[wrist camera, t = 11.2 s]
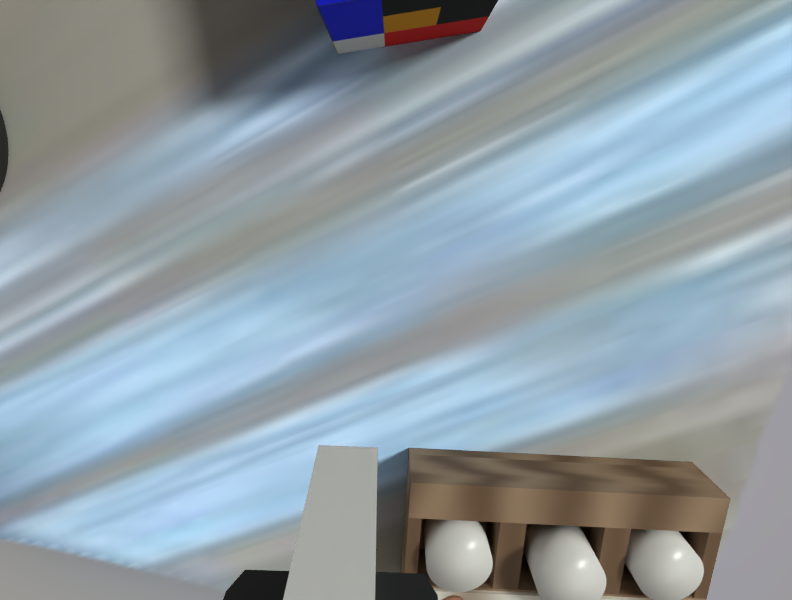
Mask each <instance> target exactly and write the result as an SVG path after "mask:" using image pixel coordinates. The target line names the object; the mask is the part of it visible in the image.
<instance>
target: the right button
mask: <svg viewBox="0 0 792 600" xmlns="http://www.w3.org/2000/svg"><path fill="white" fill-rule="evenodd" d="M625 564H626V566H627V568H628V569H629V571H630V573H631V574H632V576H633V578H634V579H635V581H636V583H637V584H638V586H639V588H640V589H641V591H642V592H643V593H644V594H645V595H646V596H647V597H649V598H651V599H653V600H681V599H683V598H685V597H687V596H689V595H690V594H691V593H693V592H694V591H695V590H696V589H697V588H698V586H699V585H700V583H701V581H702V578H703V574H704V567H703V563H702V561H701V559H700V557H699V556H698V555H697V554H696V552H695V551H694V550H693V549H692V547H691V546H690V545H689V544H688V542H687V541H686V540H685V539H684V537H683V536H682V535H681V534H680V533H679V531H667V530H646V529H631V533H630V538H629V543H628V548H627V554H626V559H625Z"/></svg>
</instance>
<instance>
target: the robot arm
mask: <svg viewBox="0 0 792 600" xmlns="http://www.w3.org/2000/svg"><path fill="white" fill-rule="evenodd" d="M7 165H8V140H7V133H6V128H5V124H4V120H3V117H2V114H1V111H0V191H1V188H2V186H3V183H4V180H5V176H6V171H7ZM377 464H378V448H373V447H348V446H323V445H319V447H318V451H317V455H316V459H315V464H314V468H313V472H312V477H311V481H310V485H309V490H308V494H307V498H306V503H305V507H304V511H303V515H302V520H301V524H300V528H299V533H298V537H297V541H296V546H295V550H294V554H293V559H292V563H291V567H290V571H266V570H245V571H244V572H243V573H242V574H241V575H240V576H239V577H238V578H237V580H236V581H235V582H234V583H233V584H232V585H231V586H230V588H229V589H228V590H227V591H226V593H225V596H224V599H223V600H438V595H437V594H436V592H435V590H434V589H433V587H432V585H431V584H430V582H429V580H428V579H427V577H426V575H425V574H421V573H388V572H376V520H377Z"/></svg>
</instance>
